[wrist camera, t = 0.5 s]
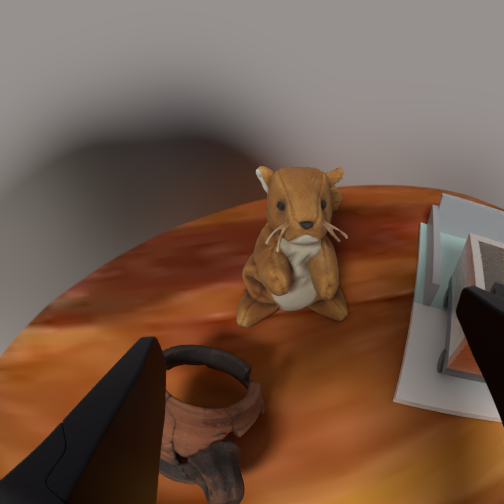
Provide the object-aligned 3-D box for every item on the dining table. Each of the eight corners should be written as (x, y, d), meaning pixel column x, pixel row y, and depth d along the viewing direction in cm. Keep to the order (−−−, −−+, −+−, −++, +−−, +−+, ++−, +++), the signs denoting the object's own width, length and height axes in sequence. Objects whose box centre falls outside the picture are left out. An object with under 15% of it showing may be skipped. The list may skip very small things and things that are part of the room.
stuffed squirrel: (234, 335, 26) (204, 210, 18) (254, 234, 37) (241, 129, 28) (348, 339, 25) (378, 211, 16) (338, 235, 35) (345, 128, 26)
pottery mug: (124, 416, 21) (120, 339, 19) (225, 403, 26) (240, 331, 24) (169, 541, 11) (168, 493, 9) (294, 502, 16) (338, 439, 14)
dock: (529, 425, 14) (569, 396, 10) (392, 401, 20) (418, 368, 16) (513, 255, 29) (529, 220, 25) (419, 227, 35) (429, 188, 31)
